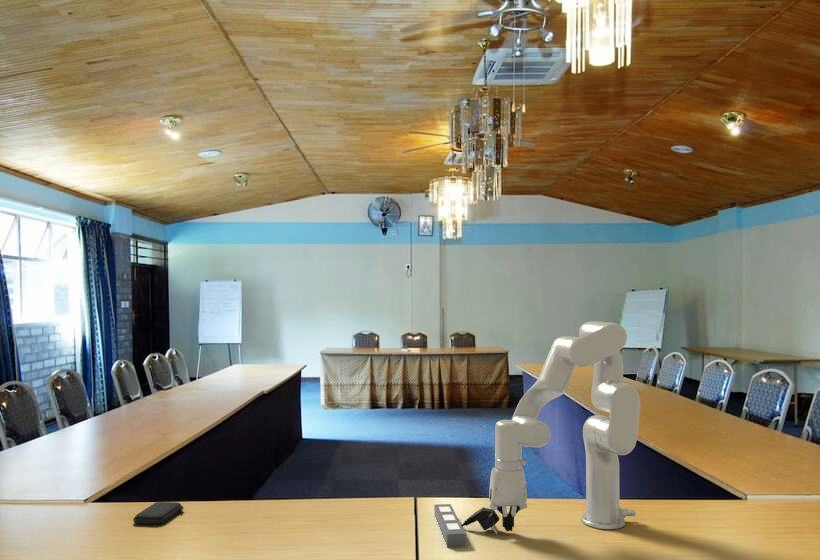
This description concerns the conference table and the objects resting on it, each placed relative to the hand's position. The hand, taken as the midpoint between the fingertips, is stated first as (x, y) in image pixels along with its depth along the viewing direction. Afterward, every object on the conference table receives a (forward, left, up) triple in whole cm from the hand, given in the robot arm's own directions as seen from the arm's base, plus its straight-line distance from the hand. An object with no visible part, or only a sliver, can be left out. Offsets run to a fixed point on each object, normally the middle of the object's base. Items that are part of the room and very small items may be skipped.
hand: (508, 529), depth 175 cm
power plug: (+8, -3, -2) cm, 9 cm away
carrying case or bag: (+102, -23, -2) cm, 105 cm away
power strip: (+16, -4, -1) cm, 17 cm away
